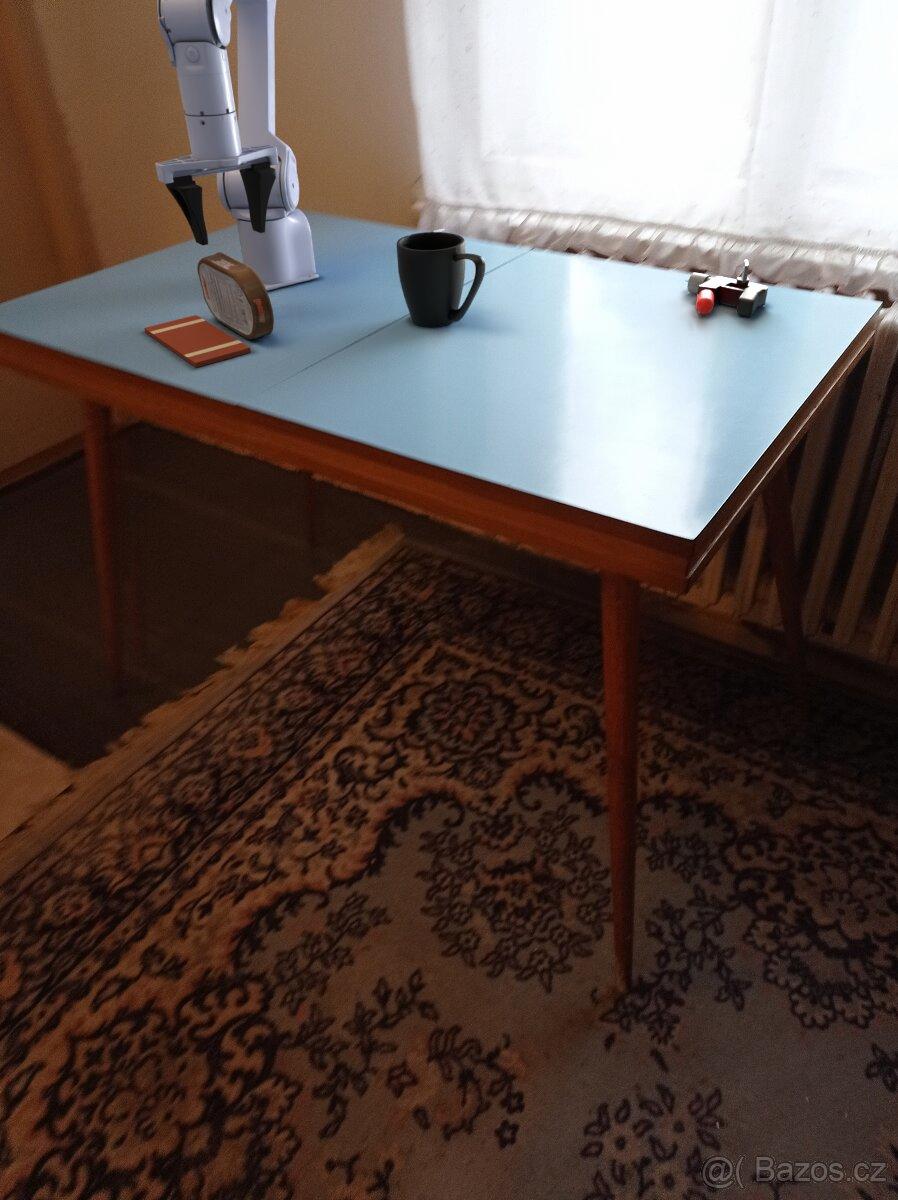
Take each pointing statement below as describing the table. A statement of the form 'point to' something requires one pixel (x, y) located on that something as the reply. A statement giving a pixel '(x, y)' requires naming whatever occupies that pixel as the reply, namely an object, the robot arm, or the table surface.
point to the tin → (236, 295)
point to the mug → (436, 277)
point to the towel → (197, 340)
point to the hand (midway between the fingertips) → (231, 237)
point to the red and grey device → (727, 292)
